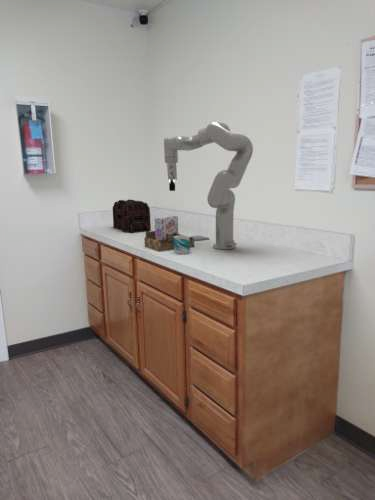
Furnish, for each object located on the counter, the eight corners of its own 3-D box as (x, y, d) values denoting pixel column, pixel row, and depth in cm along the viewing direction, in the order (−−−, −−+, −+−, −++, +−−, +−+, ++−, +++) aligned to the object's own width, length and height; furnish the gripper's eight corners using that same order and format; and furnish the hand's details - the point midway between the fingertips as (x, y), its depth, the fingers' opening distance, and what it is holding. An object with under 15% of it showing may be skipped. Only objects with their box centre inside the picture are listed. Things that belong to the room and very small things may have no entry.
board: (209, 239, 242) (209, 237, 242) (182, 242, 233) (182, 241, 232) (199, 237, 252) (199, 235, 251) (173, 240, 242) (173, 238, 242)
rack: (194, 246, 221) (194, 232, 219) (159, 251, 210) (159, 236, 208) (177, 242, 236) (177, 228, 234) (144, 246, 225) (144, 232, 223)
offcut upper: (182, 242, 217) (182, 235, 217) (169, 243, 213) (169, 237, 213) (179, 241, 220) (179, 235, 219) (166, 242, 216) (166, 236, 215)
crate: (111, 227, 301) (110, 200, 297) (135, 225, 310) (134, 198, 306) (127, 233, 271) (126, 203, 267) (153, 231, 279) (152, 201, 275)
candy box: (163, 248, 218) (162, 218, 214) (155, 247, 221) (154, 217, 218) (179, 244, 228) (178, 215, 225) (171, 243, 232) (170, 215, 228)
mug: (177, 254, 201) (177, 238, 199) (169, 250, 212) (168, 235, 210) (192, 253, 204) (192, 237, 202) (183, 249, 215) (182, 233, 213)
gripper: (177, 159, 219) (178, 190, 222) (177, 160, 236) (178, 189, 239) (164, 159, 219) (165, 191, 222) (165, 160, 236) (166, 190, 239)
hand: (172, 190), depth 230 cm, fingers open, 9 cm apart
